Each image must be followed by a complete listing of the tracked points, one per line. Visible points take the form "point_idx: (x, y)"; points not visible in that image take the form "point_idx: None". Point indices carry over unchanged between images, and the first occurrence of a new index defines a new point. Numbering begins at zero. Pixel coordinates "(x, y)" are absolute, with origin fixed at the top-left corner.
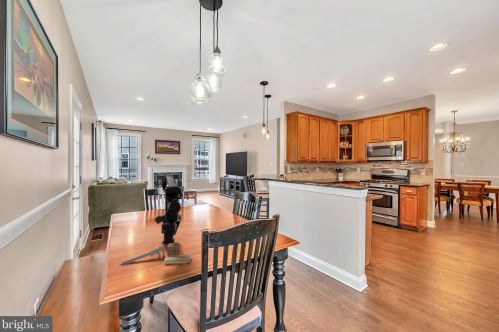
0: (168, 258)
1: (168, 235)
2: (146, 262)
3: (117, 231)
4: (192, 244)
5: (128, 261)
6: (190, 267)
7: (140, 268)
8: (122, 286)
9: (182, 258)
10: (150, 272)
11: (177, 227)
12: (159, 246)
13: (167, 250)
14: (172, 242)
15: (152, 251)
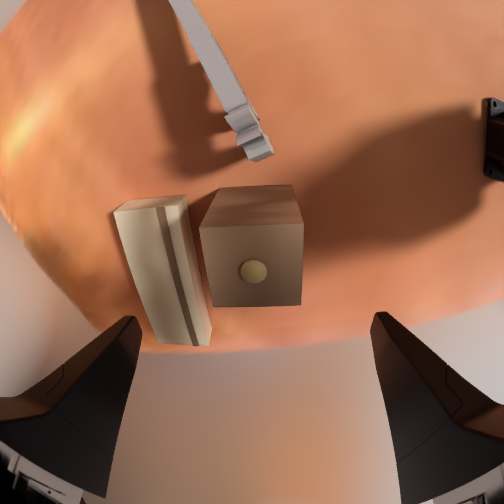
0: (137, 233)
1: (66, 372)
2: (146, 60)
3: None
4: (419, 304)
5: None
6: None
7: (74, 76)
8: None
9: (153, 313)
10: (45, 163)
11: (394, 435)
12: (232, 121)
13: (208, 212)
14: (485, 174)
15: (201, 60)
